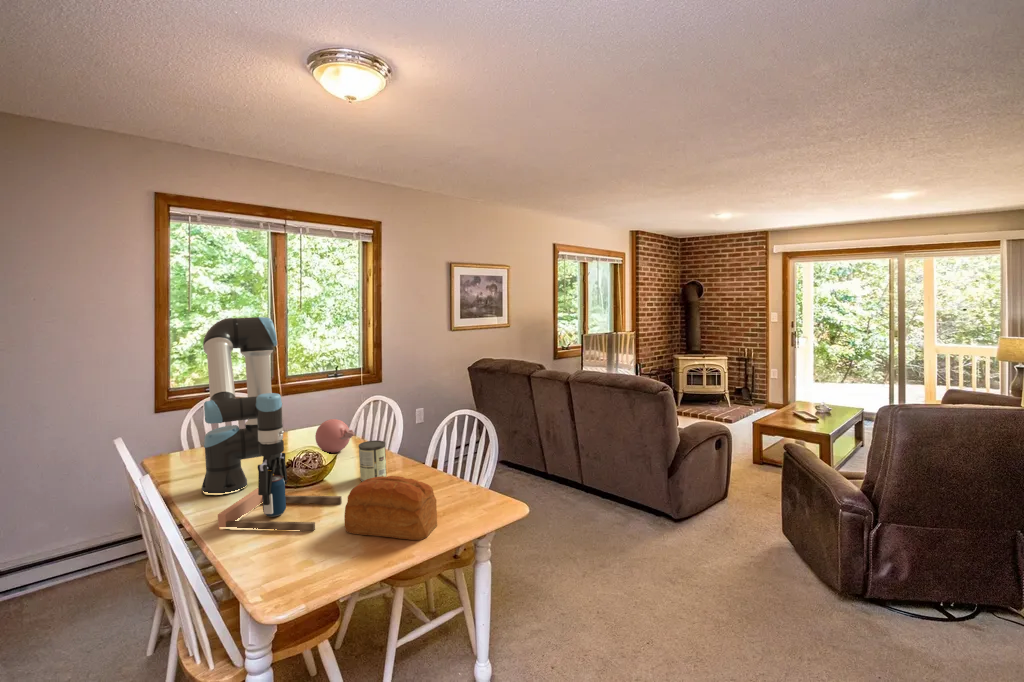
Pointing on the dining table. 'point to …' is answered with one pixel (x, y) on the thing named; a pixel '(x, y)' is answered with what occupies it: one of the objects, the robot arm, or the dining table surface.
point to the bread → (391, 508)
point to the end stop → (239, 508)
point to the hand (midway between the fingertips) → (274, 508)
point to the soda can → (277, 496)
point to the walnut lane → (289, 525)
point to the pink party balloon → (333, 435)
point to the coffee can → (372, 459)
